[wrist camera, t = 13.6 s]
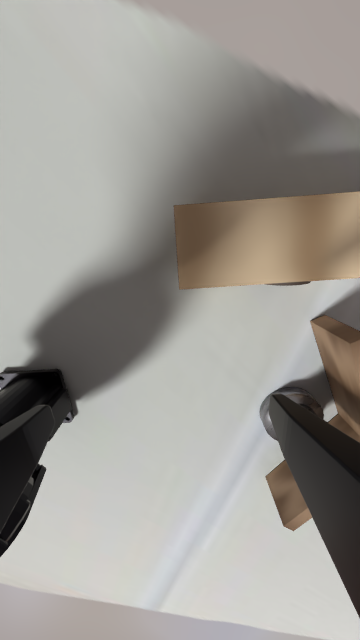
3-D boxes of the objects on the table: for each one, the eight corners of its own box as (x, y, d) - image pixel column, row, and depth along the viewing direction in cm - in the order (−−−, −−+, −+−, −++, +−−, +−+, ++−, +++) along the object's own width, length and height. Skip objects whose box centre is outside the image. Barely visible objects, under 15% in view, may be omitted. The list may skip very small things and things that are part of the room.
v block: (264, 480, 27) (282, 530, 22) (312, 314, 20) (353, 334, 15) (326, 484, 27) (357, 534, 22) (396, 320, 20) (463, 342, 15)
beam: (180, 283, 19) (179, 294, 14) (175, 217, 17) (173, 205, 13) (362, 271, 19) (425, 279, 14) (376, 202, 17) (453, 184, 12)
